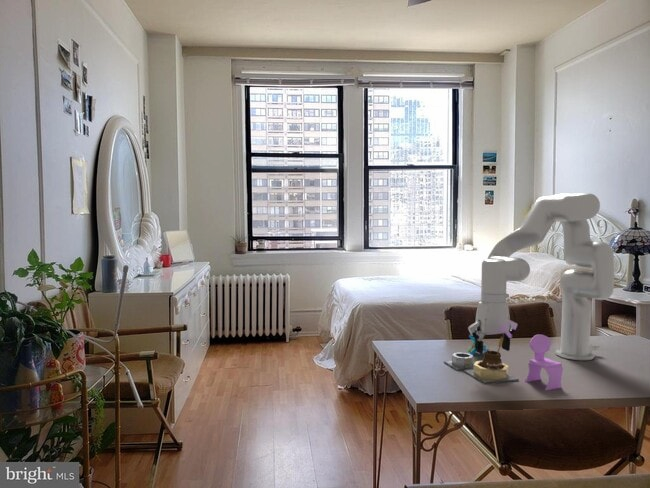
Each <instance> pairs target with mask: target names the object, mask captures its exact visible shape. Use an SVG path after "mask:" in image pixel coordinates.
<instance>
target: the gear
mask: <svg viewBox="0 0 650 488" xmlns="http://www.w3.org/2000/svg"><path fill="white" fill-rule="evenodd" d="M468 337H469V338H470V340H471V341H472V342H471V347H470V348H469V349H468V350H467V351H468V352H470V353H469V354H471V355H473V356H474V354H475V353H476V349H475V339H474V338H473V337H472V336H471V334H469V335H468ZM483 345H484V346H483V353H484V352H485V351H490V349H489V348H487V346H485V345H486V344H483ZM484 349H485V350H484Z"/></svg>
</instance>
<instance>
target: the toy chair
mask: <svg viewBox="0 0 650 488" xmlns="http://www.w3.org/2000/svg"><path fill="white" fill-rule="evenodd" d="M551 345H552V340H551V338H550V337H548V336H546V335H544V334H535V335H533V337H532V338H531V339H530V340H529V347H530V349H531V350H532V351H533V352H534V358H532V359H529V363H528V373H527V374H528V375H527V376H526V378H525V380H524V382H525V383H528V382H533V381H539V380H541V379H542V378H541V371H542V369H544V370H545V371H546V374H547V376H548V383H547V386H546V387H545V389H544V391H551V390H554V389H555V390H556V389H561V388H562V374H563V369H564V368H563V366H562V365H563V363H562V362H559V361H555V360H553V359H550V358H548V357H545V354H546V353H547V352H549V351H550V348H551Z"/></svg>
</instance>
